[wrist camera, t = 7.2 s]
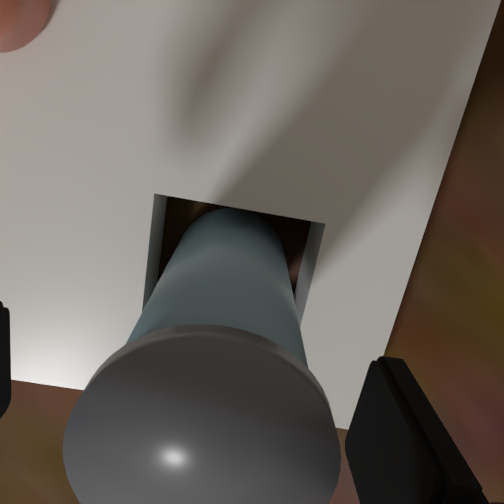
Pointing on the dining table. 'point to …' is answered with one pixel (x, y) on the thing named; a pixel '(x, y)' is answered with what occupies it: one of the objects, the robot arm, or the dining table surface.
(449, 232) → the dining table surface
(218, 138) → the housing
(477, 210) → the dining table surface
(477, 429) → the dining table surface
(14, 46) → the knob
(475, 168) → the dining table surface
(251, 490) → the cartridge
